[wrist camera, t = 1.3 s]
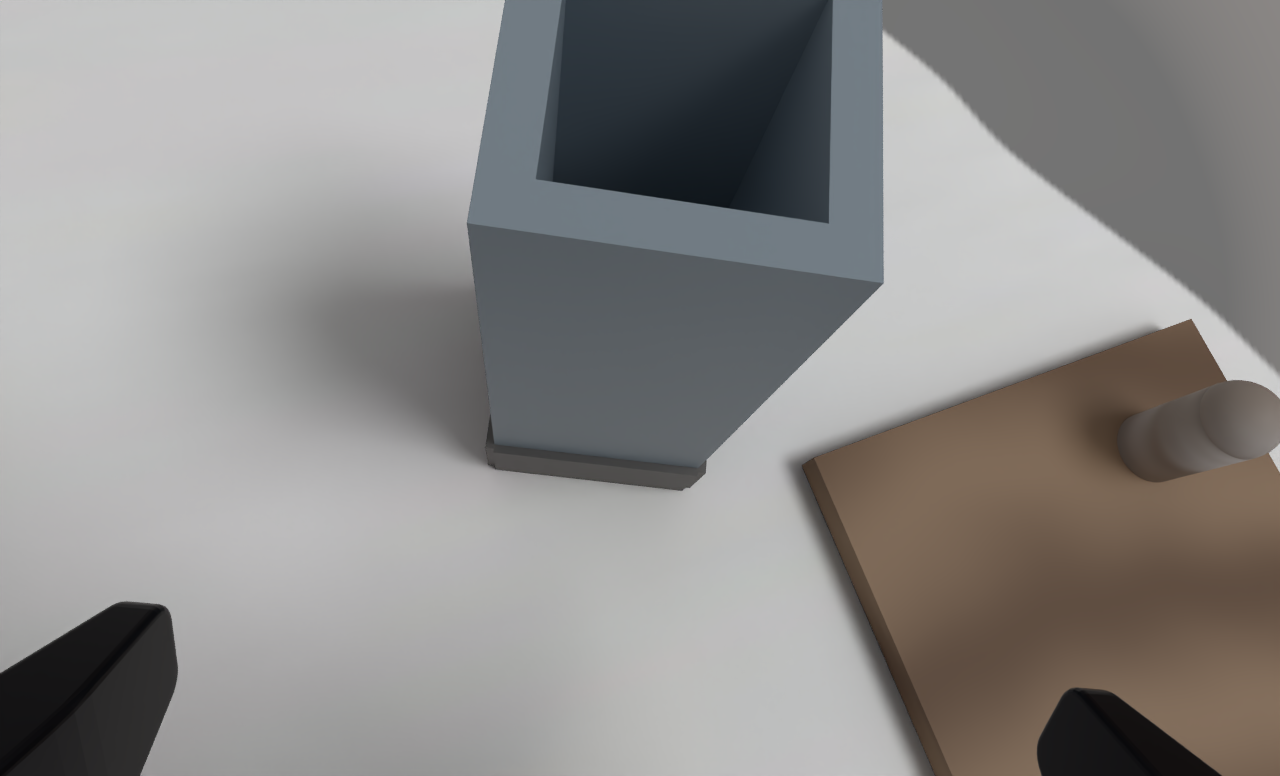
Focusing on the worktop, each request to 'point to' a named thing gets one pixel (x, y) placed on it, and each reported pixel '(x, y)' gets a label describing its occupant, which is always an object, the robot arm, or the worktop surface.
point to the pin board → (1075, 556)
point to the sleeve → (668, 221)
